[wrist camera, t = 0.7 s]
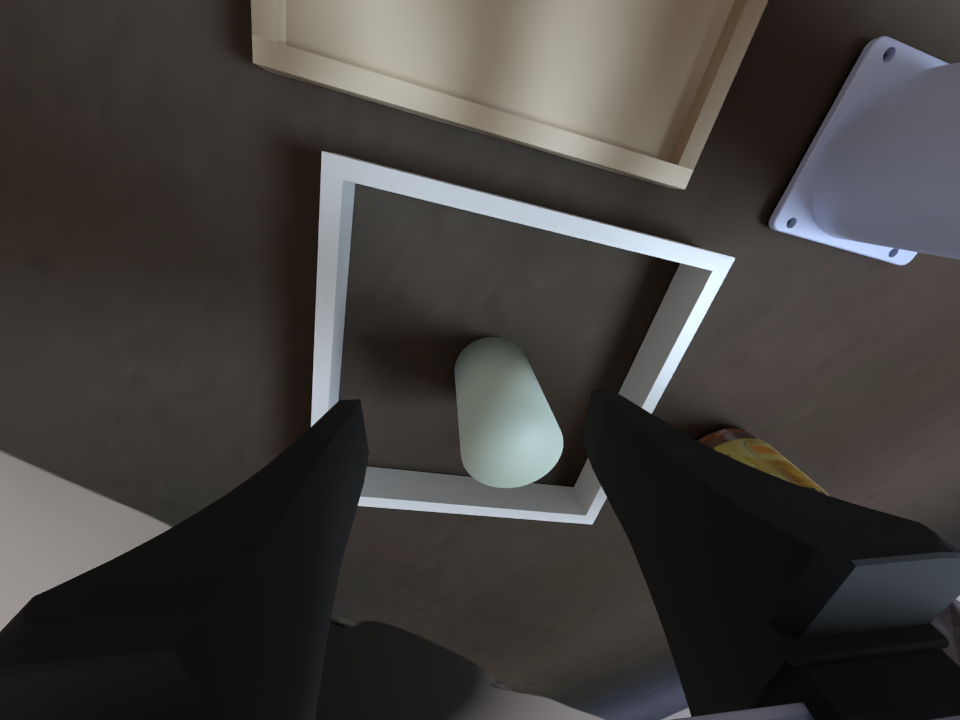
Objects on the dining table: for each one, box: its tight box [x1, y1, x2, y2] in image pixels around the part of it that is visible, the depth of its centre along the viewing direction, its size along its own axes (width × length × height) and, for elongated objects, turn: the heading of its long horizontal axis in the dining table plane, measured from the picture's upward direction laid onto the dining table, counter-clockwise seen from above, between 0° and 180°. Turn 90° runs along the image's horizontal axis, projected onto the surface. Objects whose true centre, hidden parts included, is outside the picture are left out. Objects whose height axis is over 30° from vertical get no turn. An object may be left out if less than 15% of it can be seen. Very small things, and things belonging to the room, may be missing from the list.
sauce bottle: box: [697, 428, 960, 666], centre depth 18 cm, size 6×6×20 cm
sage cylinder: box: [454, 337, 563, 488], centre depth 19 cm, size 4×4×7 cm
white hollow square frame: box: [311, 151, 735, 524], centre depth 21 cm, size 19×19×2 cm
